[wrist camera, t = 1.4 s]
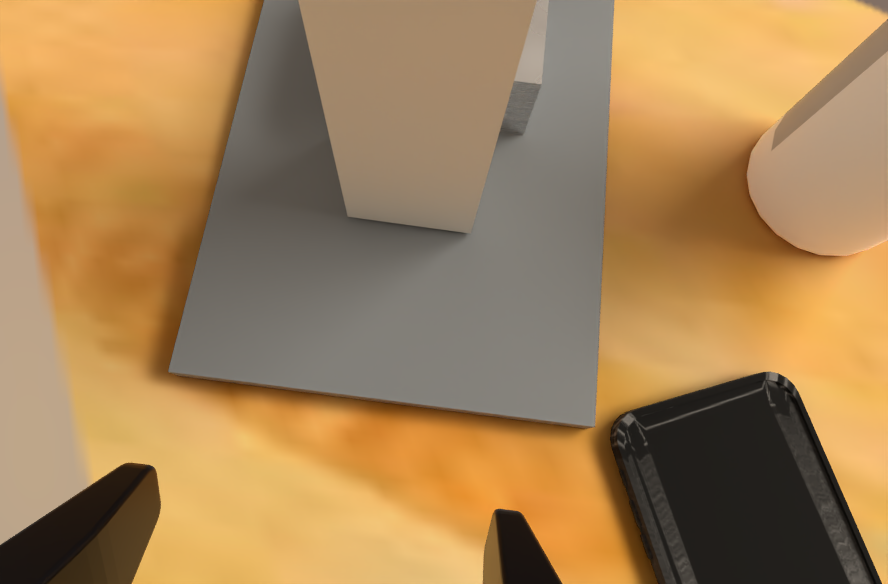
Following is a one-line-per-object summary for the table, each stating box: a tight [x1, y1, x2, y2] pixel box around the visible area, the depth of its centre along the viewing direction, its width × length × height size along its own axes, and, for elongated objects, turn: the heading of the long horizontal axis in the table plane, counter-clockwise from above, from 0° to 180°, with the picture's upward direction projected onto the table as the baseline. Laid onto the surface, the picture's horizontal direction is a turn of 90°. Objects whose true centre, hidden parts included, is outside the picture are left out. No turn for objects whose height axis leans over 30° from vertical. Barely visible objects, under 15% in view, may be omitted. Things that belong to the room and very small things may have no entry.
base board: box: [168, 0, 614, 429], centre depth 25 cm, size 20×16×1 cm
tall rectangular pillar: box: [298, 0, 537, 234], centre depth 18 cm, size 5×5×14 cm
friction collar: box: [500, 0, 549, 135], centre depth 25 cm, size 7×9×4 cm
